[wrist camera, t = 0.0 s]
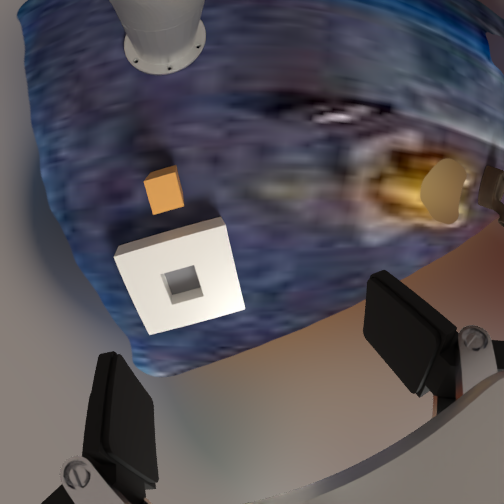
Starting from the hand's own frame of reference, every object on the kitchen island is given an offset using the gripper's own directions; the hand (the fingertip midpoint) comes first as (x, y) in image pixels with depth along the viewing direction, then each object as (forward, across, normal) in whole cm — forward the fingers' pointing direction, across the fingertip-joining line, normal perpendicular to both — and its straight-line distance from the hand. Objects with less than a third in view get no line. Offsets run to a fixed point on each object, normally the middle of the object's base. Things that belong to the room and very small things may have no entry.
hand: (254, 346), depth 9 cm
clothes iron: (+37, -83, +15) cm, 92 cm away
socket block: (+37, +6, +15) cm, 40 cm away
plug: (+37, +4, -1) cm, 37 cm away
